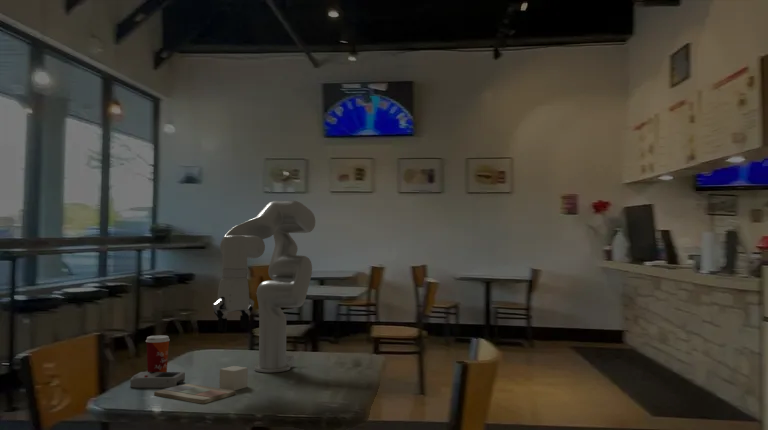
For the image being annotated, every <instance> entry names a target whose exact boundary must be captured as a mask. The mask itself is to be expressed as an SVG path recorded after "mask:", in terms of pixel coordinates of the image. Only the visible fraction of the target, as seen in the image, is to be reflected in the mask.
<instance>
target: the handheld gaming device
mask: <svg viewBox="0 0 768 430" xmlns="http://www.w3.org/2000/svg"><path fill="white" fill-rule="evenodd" d="M185 381H186V372H185V371H184V372H183V371H180V372H179V371H176V372H174V371H169V372H168V371H167V372H148V371H140V372H138V373H136V374H134V375H133V376H132V377H131V378H130V382H129V384H130V385H129V386H130V388H135V389H136V388H137V389H139V388H140V389H141V388H142V389H143V388H144V389H145V388H147V389H149V388H151V389H155V388H156V389H157V388H158V389H166V388H170V387H175V386H178V385H177V384H181V383H183V384H184V382H185Z"/></svg>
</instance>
